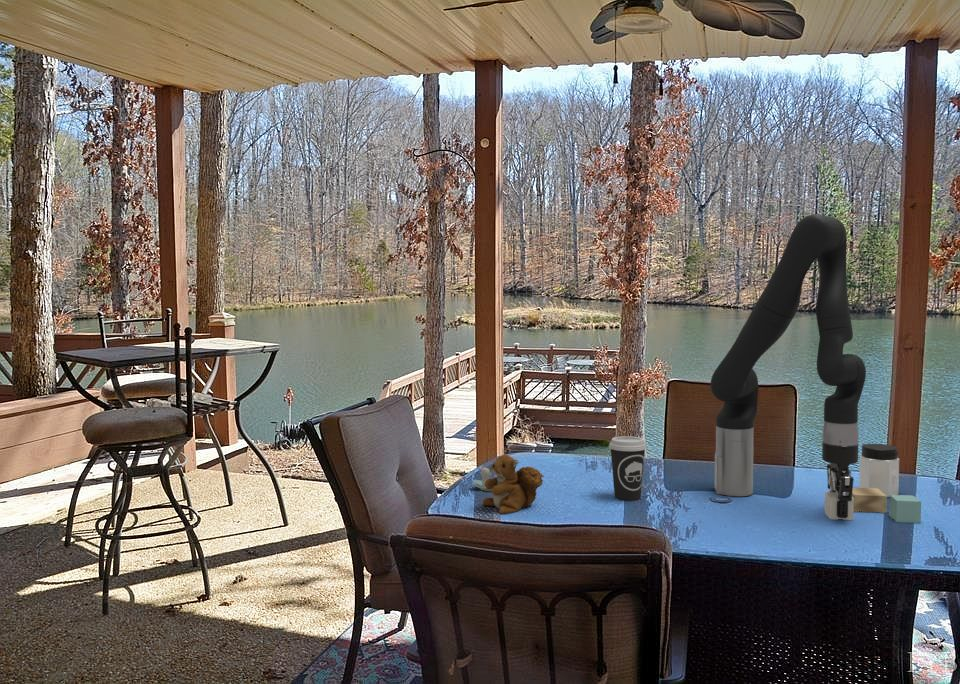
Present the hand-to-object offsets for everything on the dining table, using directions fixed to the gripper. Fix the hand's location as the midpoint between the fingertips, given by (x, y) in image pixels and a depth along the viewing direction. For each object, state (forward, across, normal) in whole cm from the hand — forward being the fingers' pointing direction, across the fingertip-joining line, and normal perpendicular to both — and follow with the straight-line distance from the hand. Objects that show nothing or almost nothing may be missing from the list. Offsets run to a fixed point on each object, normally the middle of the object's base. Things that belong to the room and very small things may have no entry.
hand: (838, 513), depth 178 cm
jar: (+1, -23, +15) cm, 27 cm away
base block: (+1, -8, +8) cm, 11 cm away
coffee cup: (+1, -9, -48) cm, 49 cm away
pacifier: (+1, -12, -85) cm, 86 cm away
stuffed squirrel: (+1, +4, -76) cm, 76 cm away
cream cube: (+1, 0, 0) cm, 1 cm away
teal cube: (+1, 0, +14) cm, 14 cm away
